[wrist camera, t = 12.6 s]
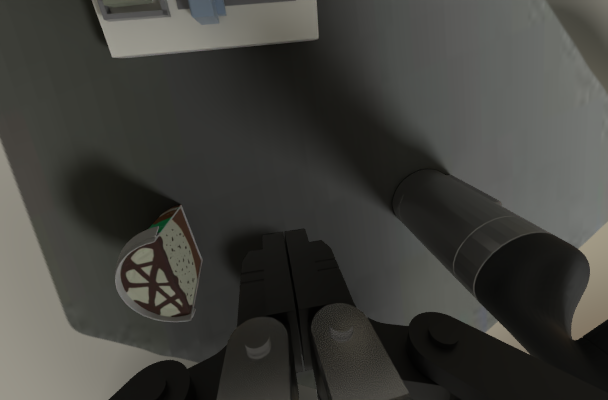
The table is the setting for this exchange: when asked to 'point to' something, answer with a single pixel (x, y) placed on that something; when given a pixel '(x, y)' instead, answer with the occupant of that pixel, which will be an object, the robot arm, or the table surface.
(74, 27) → the table surface
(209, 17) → the blue paddle
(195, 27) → the control panel
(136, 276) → the food container
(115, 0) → the olive rocker
